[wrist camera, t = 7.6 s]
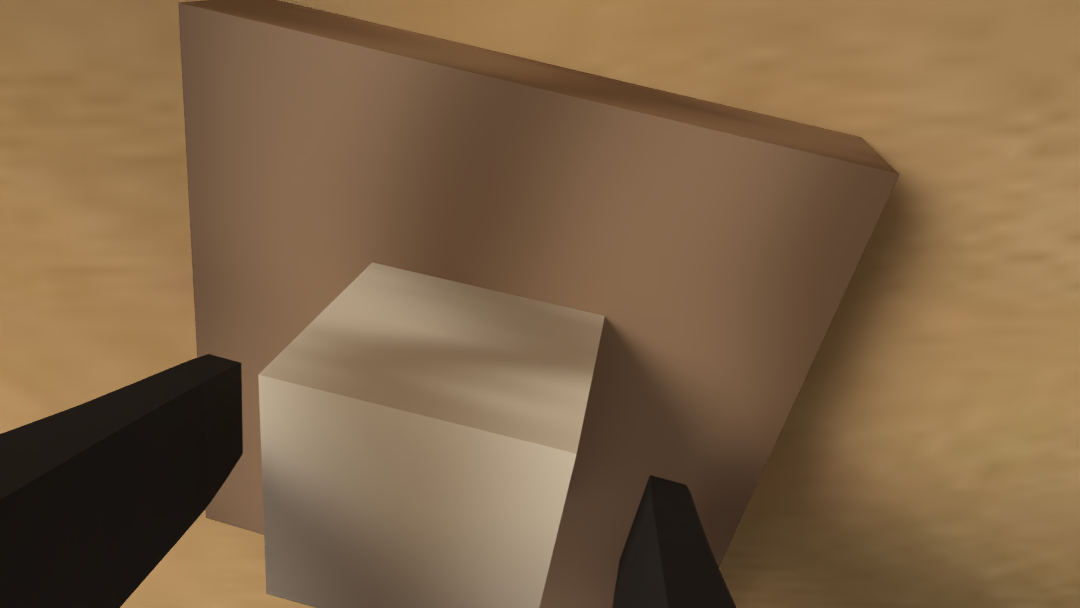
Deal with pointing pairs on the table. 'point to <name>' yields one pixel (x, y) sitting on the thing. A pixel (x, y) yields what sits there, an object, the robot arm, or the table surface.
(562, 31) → the table surface
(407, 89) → the plinth
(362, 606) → the block
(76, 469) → the robot arm
